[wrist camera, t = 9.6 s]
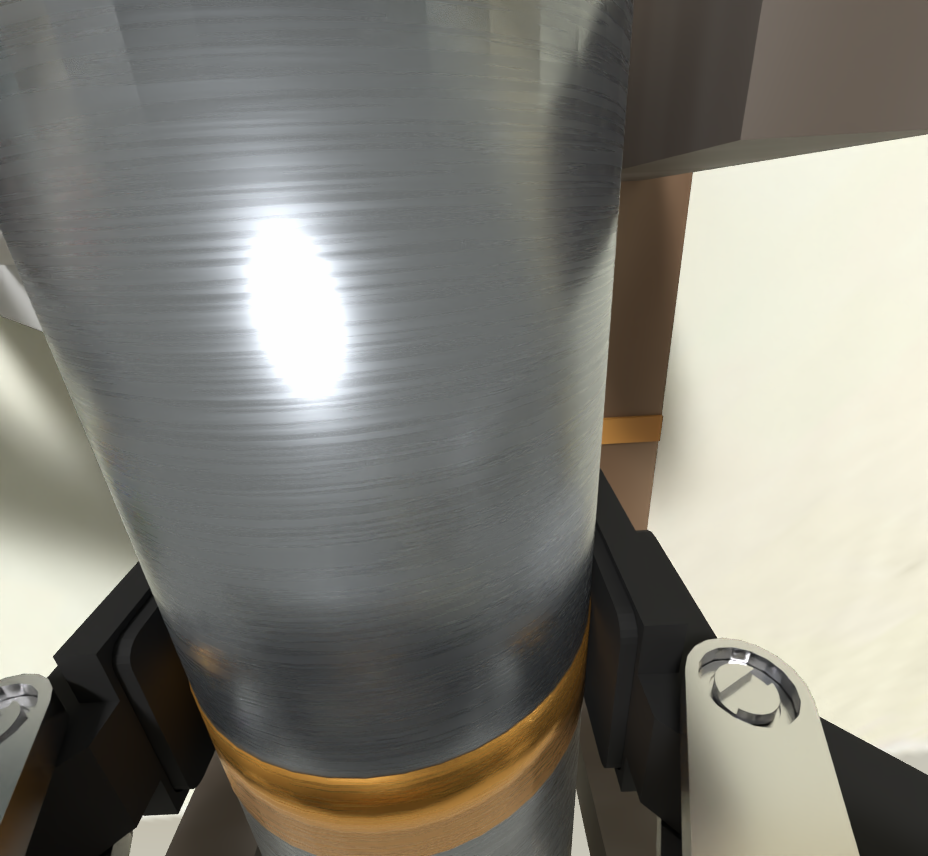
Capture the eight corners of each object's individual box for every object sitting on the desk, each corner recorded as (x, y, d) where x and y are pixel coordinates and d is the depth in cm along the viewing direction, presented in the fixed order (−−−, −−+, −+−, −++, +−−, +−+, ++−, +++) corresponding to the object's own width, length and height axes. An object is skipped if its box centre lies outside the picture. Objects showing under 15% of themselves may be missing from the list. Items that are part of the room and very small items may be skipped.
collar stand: (690, -42, 11) (1613, -1025, 2) (614, 653, 20) (738, 991, 11) (75, -6, 11) (-1359, -827, 2) (279, 670, 20) (146, 1020, 11)
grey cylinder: (564, -107, 7) (1103, -1631, 1) (542, 775, 15) (594, 1105, 9) (127, -82, 7) (-1435, -1488, 1) (348, 785, 15) (287, 1122, 9)
